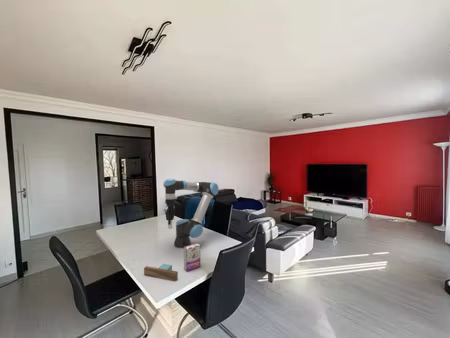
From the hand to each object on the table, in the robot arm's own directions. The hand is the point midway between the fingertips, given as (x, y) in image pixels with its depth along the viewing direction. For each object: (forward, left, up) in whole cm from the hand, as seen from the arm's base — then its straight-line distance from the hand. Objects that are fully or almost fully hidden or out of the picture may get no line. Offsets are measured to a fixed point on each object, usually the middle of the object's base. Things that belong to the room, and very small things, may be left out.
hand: (170, 228), depth 159 cm
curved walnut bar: (+25, +8, -24) cm, 36 cm away
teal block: (+19, +8, -25) cm, 32 cm away
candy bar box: (+8, +23, -25) cm, 35 cm away
